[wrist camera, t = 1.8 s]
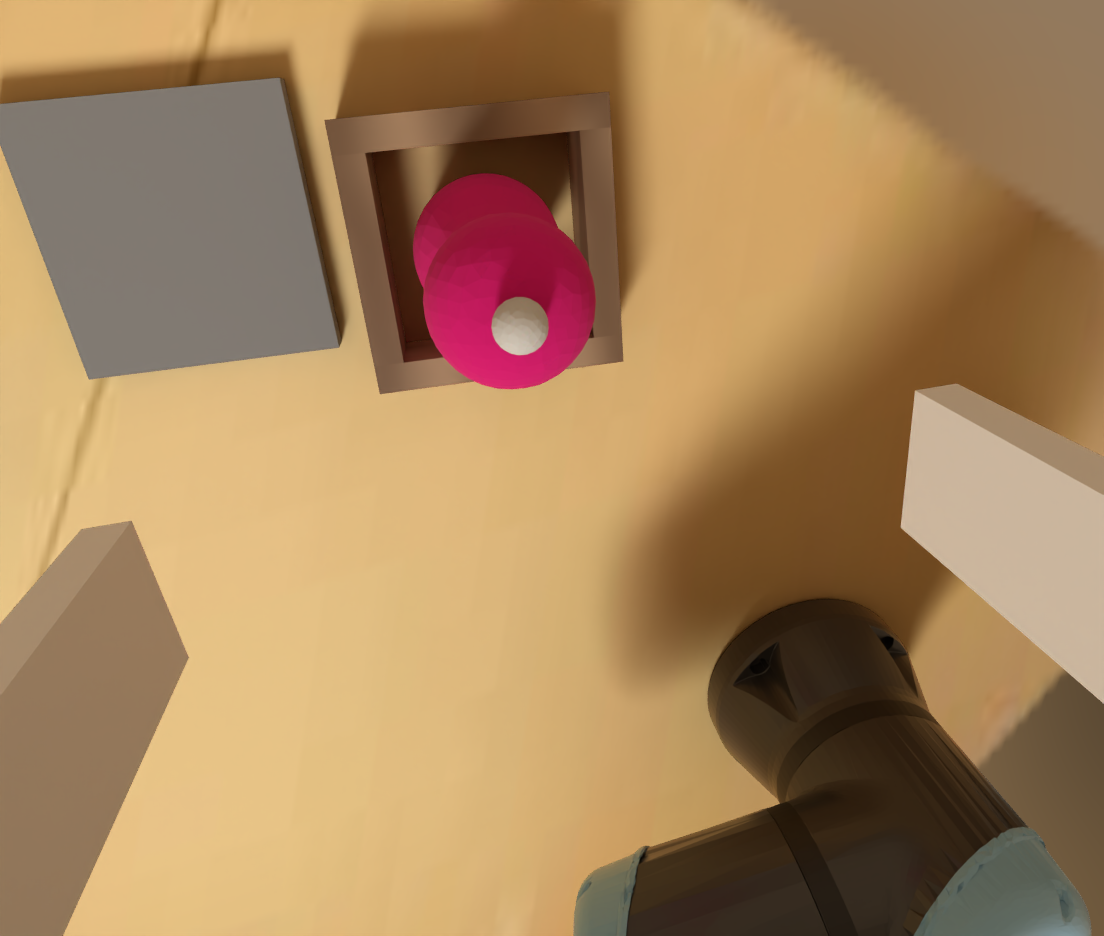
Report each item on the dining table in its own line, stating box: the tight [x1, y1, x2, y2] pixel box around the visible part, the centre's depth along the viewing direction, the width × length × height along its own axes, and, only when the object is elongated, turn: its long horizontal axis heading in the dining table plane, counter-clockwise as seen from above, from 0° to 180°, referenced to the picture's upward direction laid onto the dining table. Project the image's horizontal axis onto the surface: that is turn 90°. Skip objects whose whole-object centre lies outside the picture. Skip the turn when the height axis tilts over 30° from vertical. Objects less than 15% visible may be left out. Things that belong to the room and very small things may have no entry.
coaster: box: [0, 78, 341, 379], centre depth 37 cm, size 13×13×1 cm
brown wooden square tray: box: [325, 92, 623, 394], centre depth 38 cm, size 13×13×4 cm
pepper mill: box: [413, 173, 596, 389], centre depth 31 cm, size 7×7×20 cm
